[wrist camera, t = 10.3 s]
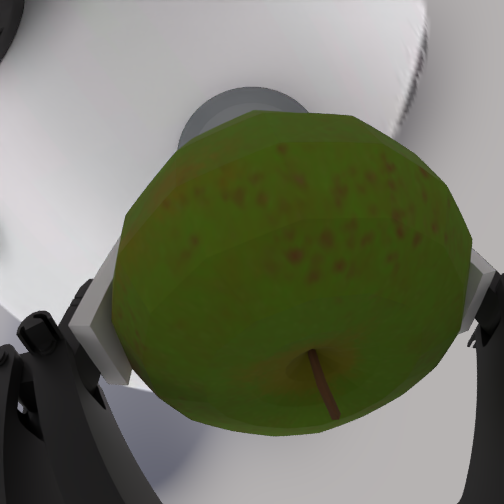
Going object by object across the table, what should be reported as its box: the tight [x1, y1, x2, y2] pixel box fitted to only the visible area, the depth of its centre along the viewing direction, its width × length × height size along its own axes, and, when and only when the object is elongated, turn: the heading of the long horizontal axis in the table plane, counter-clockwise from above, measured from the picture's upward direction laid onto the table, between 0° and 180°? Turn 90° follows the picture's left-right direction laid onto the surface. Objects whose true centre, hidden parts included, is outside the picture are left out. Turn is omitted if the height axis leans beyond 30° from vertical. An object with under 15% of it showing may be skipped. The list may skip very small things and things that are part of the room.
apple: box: [111, 110, 472, 436], centre depth 10 cm, size 11×11×11 cm
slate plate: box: [178, 87, 308, 150], centre depth 26 cm, size 14×14×2 cm
